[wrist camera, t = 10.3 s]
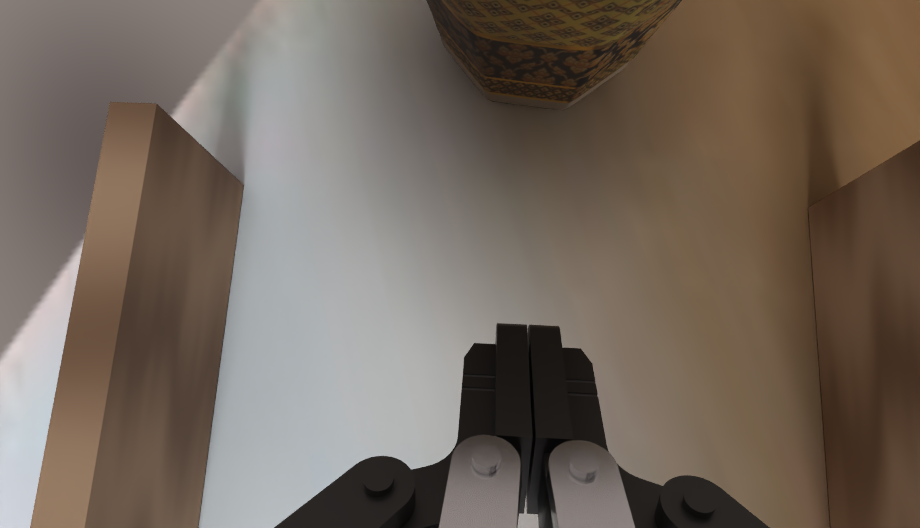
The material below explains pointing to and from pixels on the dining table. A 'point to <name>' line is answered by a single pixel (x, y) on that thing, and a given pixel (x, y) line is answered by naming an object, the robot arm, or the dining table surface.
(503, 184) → the dining table surface
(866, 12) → the dining table surface
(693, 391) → the dining table surface
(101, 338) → the walnut lane
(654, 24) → the ceramic cup
